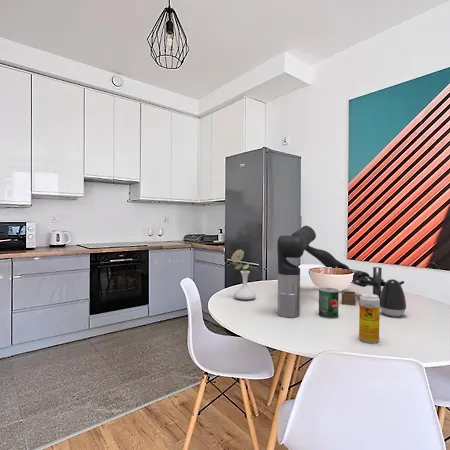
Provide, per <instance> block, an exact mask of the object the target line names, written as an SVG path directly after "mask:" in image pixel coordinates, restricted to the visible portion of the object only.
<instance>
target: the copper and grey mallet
mask: <svg viewBox="0 0 450 450" xmlns="http://www.w3.org/2000/svg"><path fill="white" fill-rule="evenodd" d="M382 269H383V268H382V267H380V266H373V267H372V277H373V281H375V282H378V287H374V286H372V294H374V295H377V296H379V299H380V295H381V292H382V286H381V279H383V278H382V277H383V276H382V275H383V274H382ZM360 296H361V294H358V298H357V299H358V302H360Z"/></svg>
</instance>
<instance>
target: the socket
mask: <svg viewBox="0 0 450 450" xmlns="http://www.w3.org/2000/svg"><path fill="white" fill-rule="evenodd" d="M355 293H356V292H355V291H350V290H349V291H348V290H341V305H345V306H356V303H357V297H356V296H357V295H356V294H355Z"/></svg>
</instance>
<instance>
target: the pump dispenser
mask: <svg viewBox="0 0 450 450" xmlns="http://www.w3.org/2000/svg"><path fill="white" fill-rule="evenodd" d="M385 282H386V283H385V285H384V287H383V286H382V288H381V295H380V312H382V313H383V314H385V315H386V316H388V317H393V318H398V317H401V316H403V315H404V314H405V311H406V309H407V301H406V295H405V292H404V289H403V287H402V285H403V284H405V281H404V280H402V281H398V280H397V279H394V278H393V279H392V278H391V279H388V280H386V281H385Z"/></svg>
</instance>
